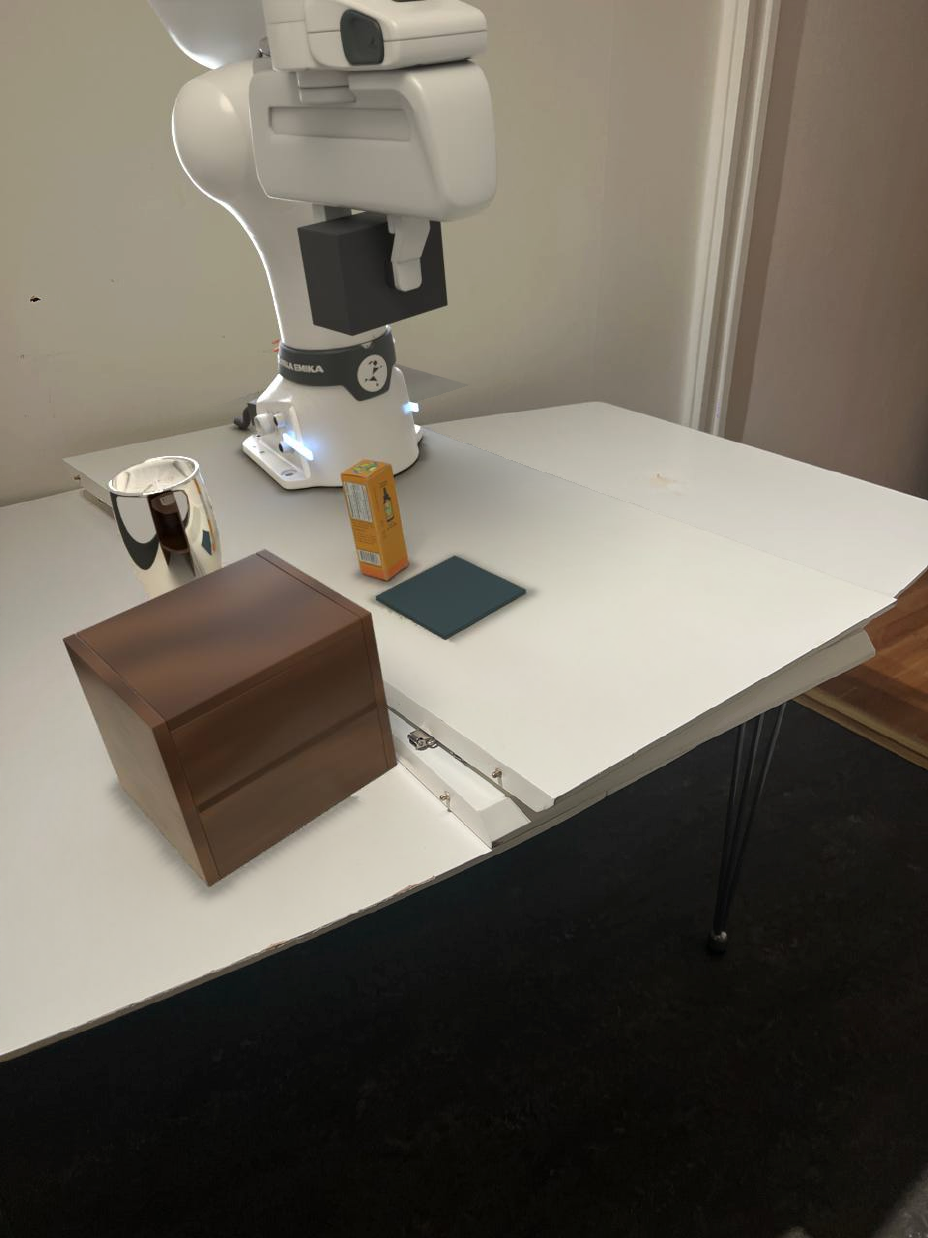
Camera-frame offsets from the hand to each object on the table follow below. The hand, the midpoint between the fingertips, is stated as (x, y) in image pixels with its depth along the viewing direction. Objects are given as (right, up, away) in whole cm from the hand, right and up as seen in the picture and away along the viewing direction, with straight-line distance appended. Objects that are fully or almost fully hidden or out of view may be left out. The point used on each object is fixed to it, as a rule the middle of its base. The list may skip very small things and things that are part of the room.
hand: (377, 282), depth 59 cm
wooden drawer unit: (-8, -32, +1) cm, 33 cm away
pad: (+5, -20, +17) cm, 27 cm away
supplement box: (-2, -18, +22) cm, 28 cm away
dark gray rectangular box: (0, -2, +1) cm, 2 cm away
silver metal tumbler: (-15, -24, +15) cm, 32 cm away
